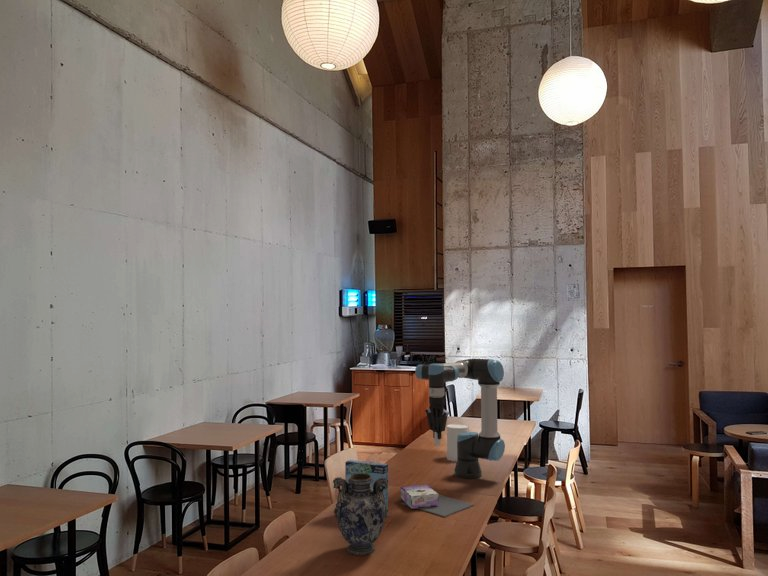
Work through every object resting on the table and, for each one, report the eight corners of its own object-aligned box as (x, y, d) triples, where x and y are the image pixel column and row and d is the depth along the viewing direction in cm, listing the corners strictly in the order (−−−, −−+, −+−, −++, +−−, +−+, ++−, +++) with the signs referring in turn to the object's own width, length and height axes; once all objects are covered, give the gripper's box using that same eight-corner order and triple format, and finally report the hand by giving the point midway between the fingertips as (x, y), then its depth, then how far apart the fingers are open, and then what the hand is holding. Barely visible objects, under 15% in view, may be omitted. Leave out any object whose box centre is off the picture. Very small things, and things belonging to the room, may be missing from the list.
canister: (443, 457, 370) (443, 424, 370) (463, 455, 374) (463, 423, 374) (452, 462, 357) (452, 428, 357) (472, 460, 361) (472, 427, 362)
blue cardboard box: (344, 513, 268) (344, 461, 269) (349, 509, 273) (349, 459, 274) (384, 519, 260) (383, 466, 261) (388, 515, 265) (388, 463, 266)
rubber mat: (431, 493, 296) (431, 492, 296) (474, 505, 278) (474, 504, 278) (401, 504, 280) (401, 502, 280) (444, 517, 262) (444, 516, 262)
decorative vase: (388, 539, 237) (387, 468, 237) (390, 559, 218) (389, 483, 219) (334, 540, 236) (334, 469, 237) (331, 560, 217) (331, 484, 218)
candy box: (400, 498, 287) (410, 509, 271) (400, 486, 287) (410, 496, 271) (427, 496, 290) (439, 506, 275) (427, 483, 291) (438, 493, 275)
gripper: (421, 395, 286) (422, 444, 286) (442, 398, 278) (443, 449, 277) (431, 393, 292) (431, 442, 291) (452, 396, 283) (453, 446, 282)
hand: (437, 445), depth 284 cm, fingers closed
